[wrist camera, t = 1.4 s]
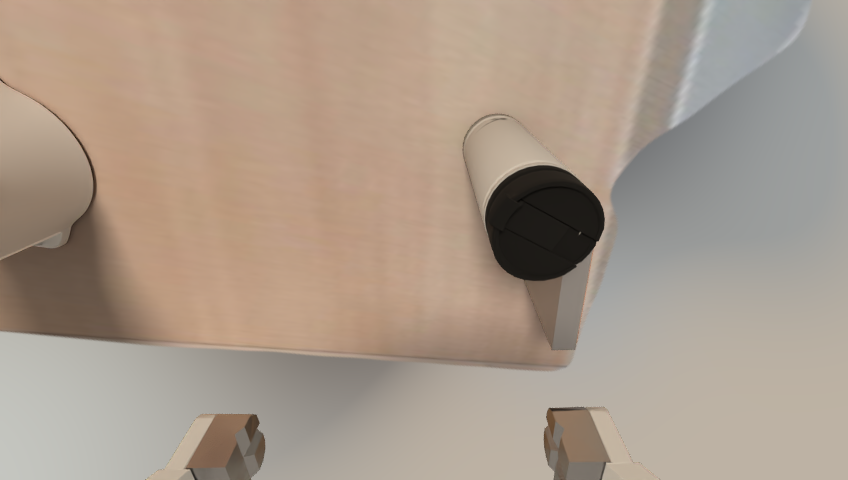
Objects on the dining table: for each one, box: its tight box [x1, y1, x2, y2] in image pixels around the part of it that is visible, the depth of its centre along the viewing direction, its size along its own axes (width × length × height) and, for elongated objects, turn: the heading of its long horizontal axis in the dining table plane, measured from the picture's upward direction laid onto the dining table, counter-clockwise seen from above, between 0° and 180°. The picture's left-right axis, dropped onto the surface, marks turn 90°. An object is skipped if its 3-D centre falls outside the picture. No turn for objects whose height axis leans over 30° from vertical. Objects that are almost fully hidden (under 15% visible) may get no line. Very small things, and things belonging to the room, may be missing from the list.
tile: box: [524, 250, 593, 350], centre depth 38 cm, size 2×10×12 cm, turn 2°
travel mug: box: [463, 114, 605, 281], centre depth 30 cm, size 6×7×20 cm
